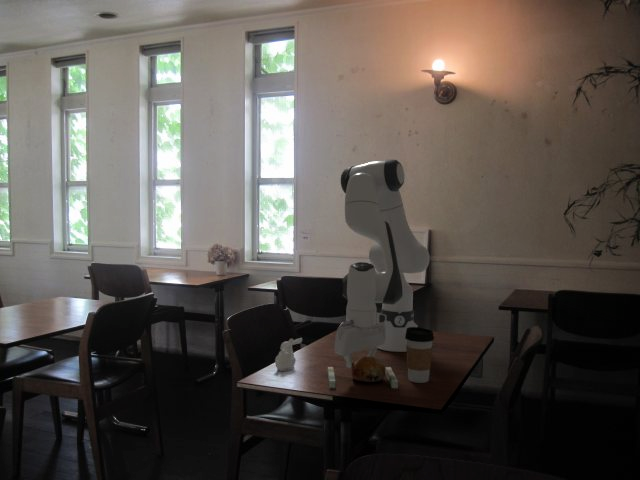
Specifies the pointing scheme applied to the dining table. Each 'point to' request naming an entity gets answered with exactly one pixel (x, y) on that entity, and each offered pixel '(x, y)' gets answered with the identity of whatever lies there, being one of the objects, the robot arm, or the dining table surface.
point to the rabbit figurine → (286, 356)
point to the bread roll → (368, 369)
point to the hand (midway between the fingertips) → (360, 364)
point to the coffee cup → (419, 353)
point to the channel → (388, 373)
